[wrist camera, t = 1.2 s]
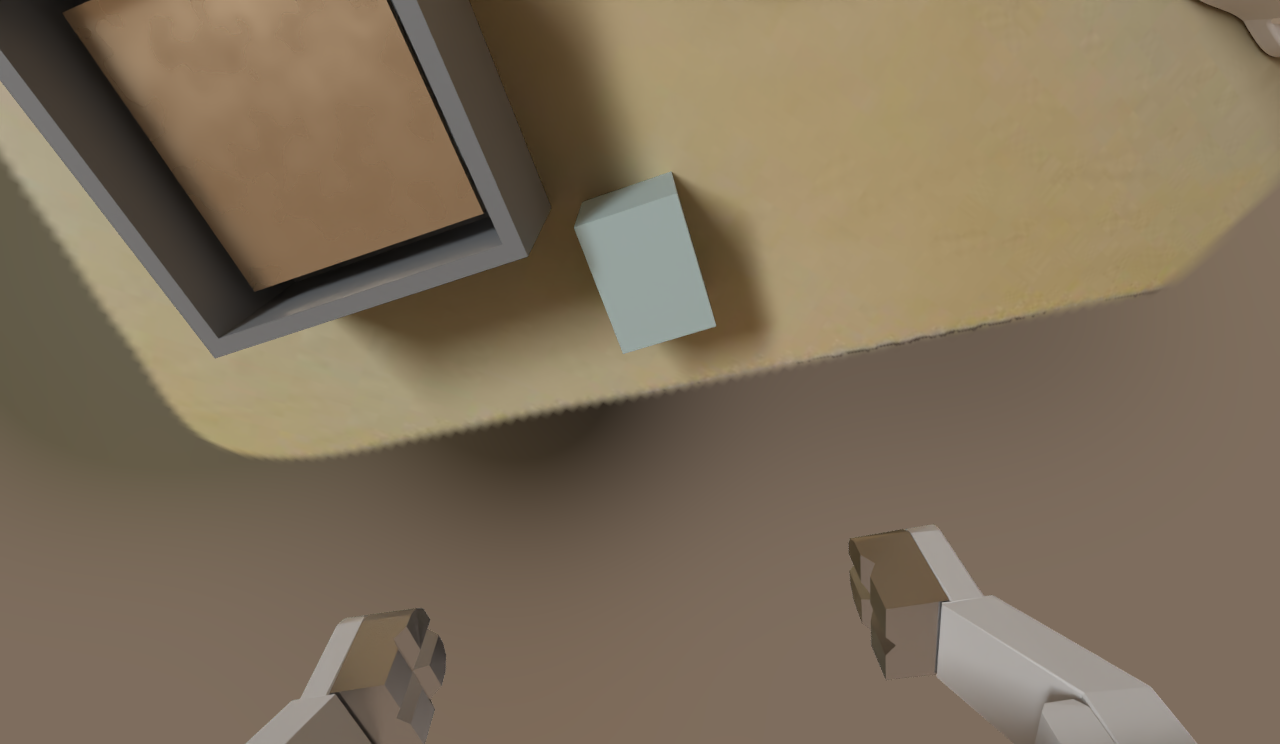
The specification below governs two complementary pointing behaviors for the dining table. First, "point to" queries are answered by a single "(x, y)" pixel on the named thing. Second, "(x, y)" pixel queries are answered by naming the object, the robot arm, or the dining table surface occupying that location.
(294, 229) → the brown layer
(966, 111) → the dining table surface
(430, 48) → the tote
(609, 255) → the pale green block
